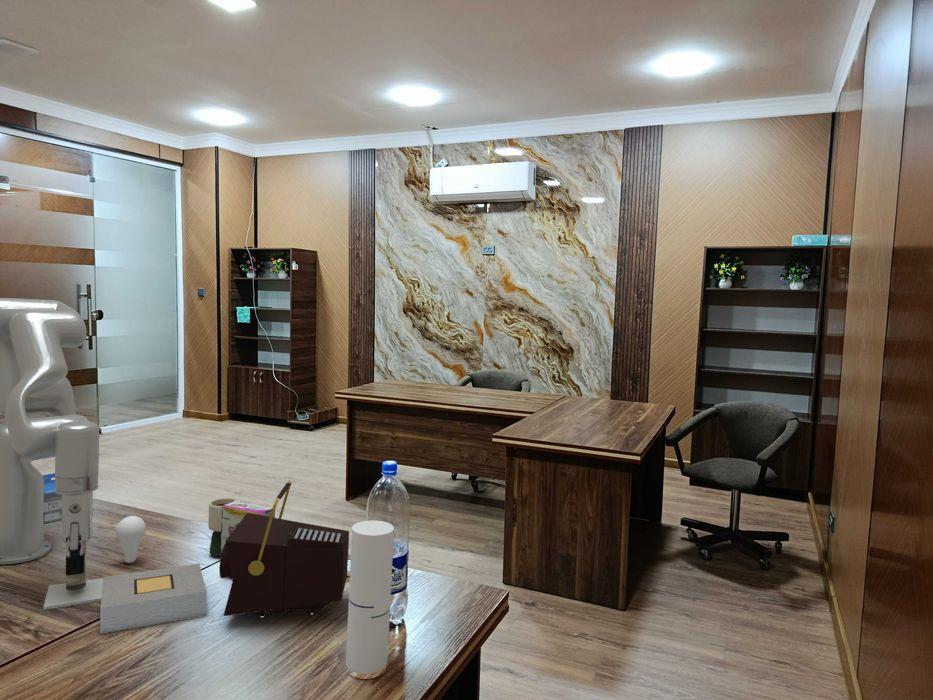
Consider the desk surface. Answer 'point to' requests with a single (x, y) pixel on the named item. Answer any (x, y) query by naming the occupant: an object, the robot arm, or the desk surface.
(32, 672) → the desk surface
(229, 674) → the desk surface
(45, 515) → the ink cartridge box
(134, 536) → the lightbulb
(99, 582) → the mat
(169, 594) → the breaker box
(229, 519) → the candy bar box
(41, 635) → the desk surface
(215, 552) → the character mug
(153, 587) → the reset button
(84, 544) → the beige cylinder
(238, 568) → the dark brown boxy piece
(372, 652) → the cylindrical container
